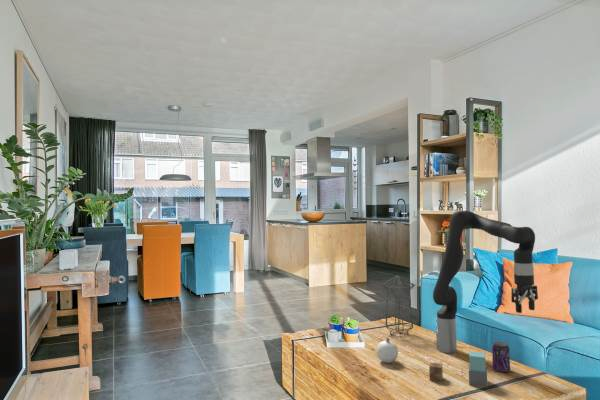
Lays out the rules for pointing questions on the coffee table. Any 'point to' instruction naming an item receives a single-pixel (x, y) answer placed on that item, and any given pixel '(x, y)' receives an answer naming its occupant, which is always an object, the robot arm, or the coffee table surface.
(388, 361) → the ornament
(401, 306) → the geometric lantern
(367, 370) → the coffee table surface
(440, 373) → the walnut block
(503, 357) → the beverage can
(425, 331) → the coffee table surface
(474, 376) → the tower base
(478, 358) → the tower mid
